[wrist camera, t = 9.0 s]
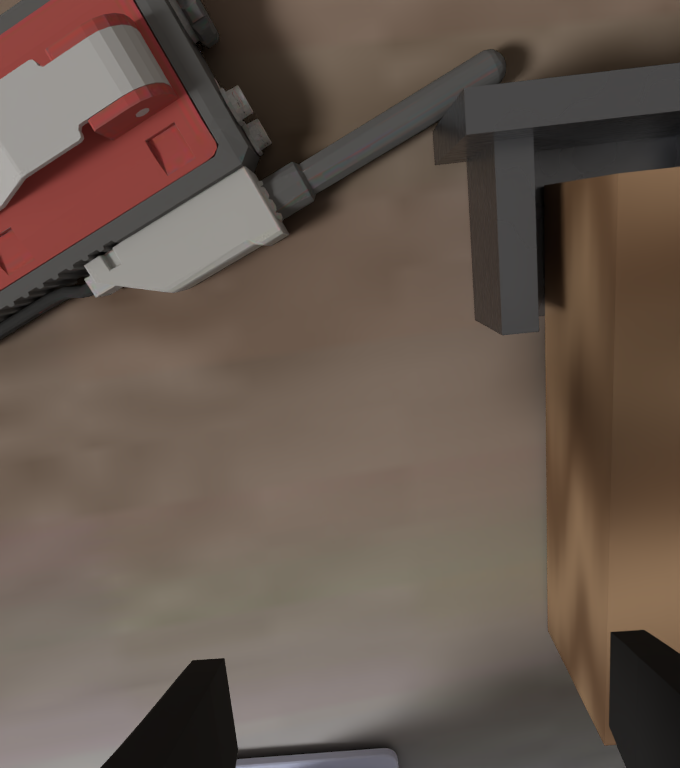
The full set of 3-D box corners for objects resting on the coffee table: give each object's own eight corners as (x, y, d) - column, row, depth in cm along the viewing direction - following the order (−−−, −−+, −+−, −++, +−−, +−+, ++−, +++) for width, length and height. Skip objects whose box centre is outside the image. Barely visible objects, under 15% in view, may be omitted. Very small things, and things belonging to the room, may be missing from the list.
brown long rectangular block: (649, 621, 22) (735, 735, 17) (547, 630, 22) (604, 745, 17) (671, 171, 18) (794, 154, 13) (543, 185, 18) (618, 173, 13)
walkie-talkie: (1, 407, 21) (507, 106, 18) (-89, 448, 17) (556, 62, 14) (-160, 183, 19) (373, -181, 17) (-307, 164, 15) (381, -330, 12)
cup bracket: (751, 291, 19) (889, 306, 14) (444, 323, 19) (477, 348, 15) (761, 93, 18) (918, 34, 13) (432, 131, 18) (463, 88, 13)
